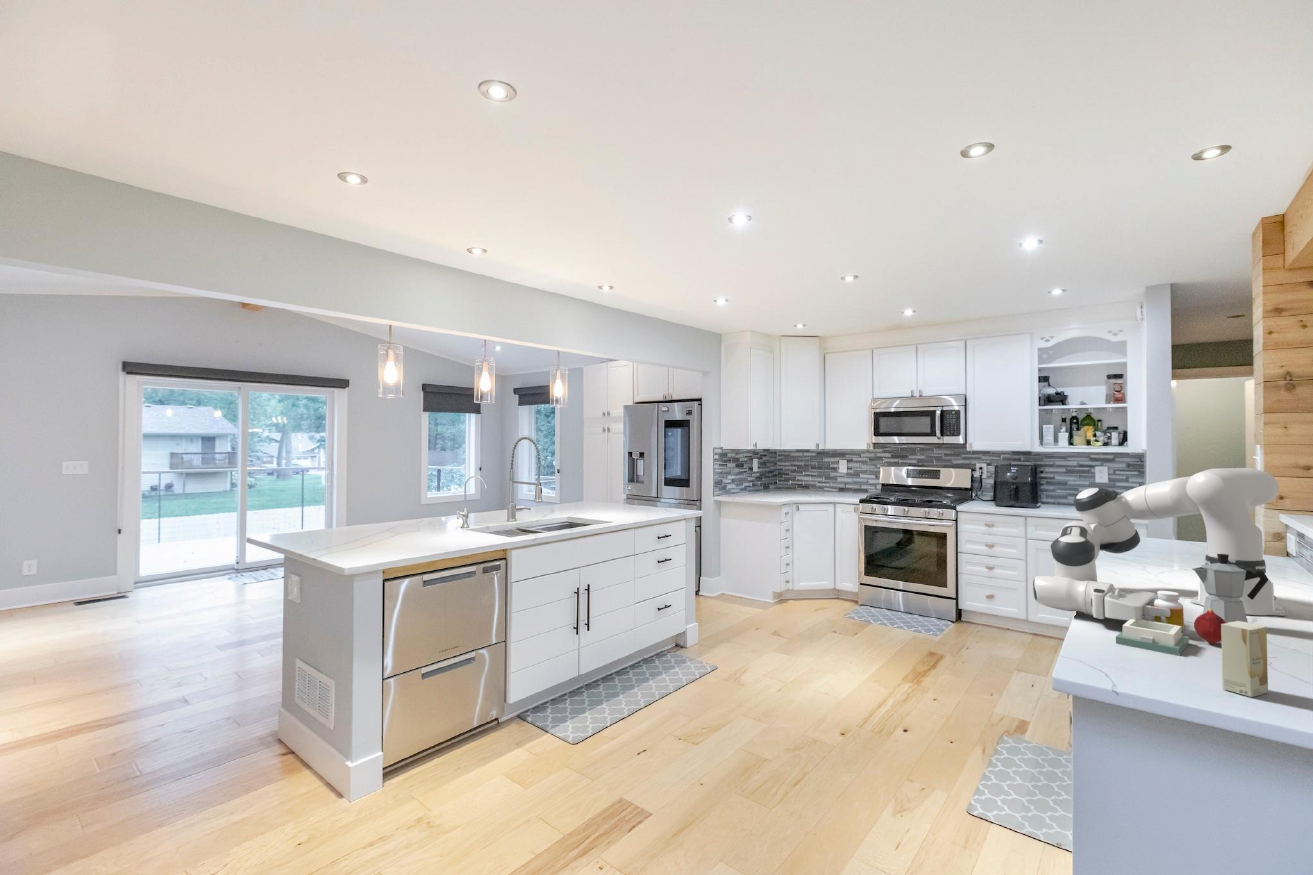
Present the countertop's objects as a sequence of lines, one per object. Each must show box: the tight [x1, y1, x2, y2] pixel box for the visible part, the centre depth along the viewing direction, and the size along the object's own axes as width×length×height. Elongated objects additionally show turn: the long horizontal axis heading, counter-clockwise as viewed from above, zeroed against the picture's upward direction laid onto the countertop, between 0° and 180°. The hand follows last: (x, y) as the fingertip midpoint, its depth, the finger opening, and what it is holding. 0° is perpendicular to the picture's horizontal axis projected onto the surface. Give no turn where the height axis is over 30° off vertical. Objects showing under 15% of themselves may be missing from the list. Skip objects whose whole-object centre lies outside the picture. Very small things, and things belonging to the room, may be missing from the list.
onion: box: [1193, 608, 1226, 645], centre depth 135 cm, size 6×6×8 cm
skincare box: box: [1221, 621, 1269, 698], centre depth 109 cm, size 6×4×12 cm
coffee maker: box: [1191, 554, 1270, 623], centre depth 148 cm, size 15×9×18 cm, turn 68°
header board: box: [1115, 619, 1190, 656], centre depth 136 cm, size 12×11×4 cm
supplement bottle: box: [1153, 590, 1185, 636], centre depth 143 cm, size 5×5×10 cm
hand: (1173, 610), depth 143 cm, fingers closed on supplement bottle, 5 cm apart
